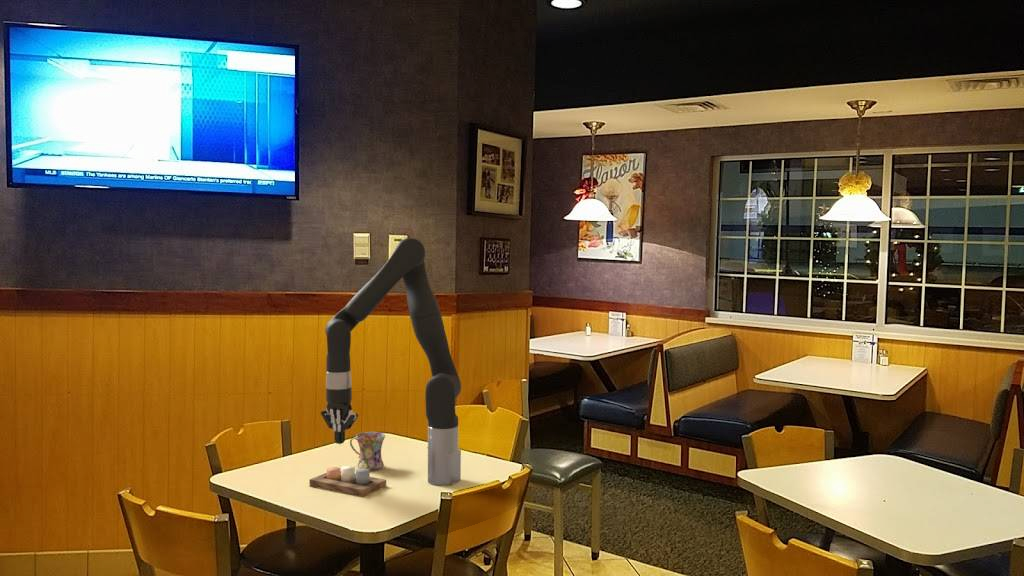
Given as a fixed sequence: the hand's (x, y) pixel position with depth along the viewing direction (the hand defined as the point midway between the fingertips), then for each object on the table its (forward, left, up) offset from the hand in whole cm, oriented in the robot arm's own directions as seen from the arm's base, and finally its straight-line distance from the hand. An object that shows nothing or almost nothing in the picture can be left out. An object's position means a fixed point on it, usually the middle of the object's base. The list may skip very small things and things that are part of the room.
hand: (339, 443), depth 238 cm
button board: (-3, 0, -13) cm, 13 cm away
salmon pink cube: (+2, 0, -12) cm, 12 cm away
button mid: (-3, 0, -11) cm, 11 cm away
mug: (+4, -18, -13) cm, 22 cm away
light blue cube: (-9, 0, -11) cm, 14 cm away
